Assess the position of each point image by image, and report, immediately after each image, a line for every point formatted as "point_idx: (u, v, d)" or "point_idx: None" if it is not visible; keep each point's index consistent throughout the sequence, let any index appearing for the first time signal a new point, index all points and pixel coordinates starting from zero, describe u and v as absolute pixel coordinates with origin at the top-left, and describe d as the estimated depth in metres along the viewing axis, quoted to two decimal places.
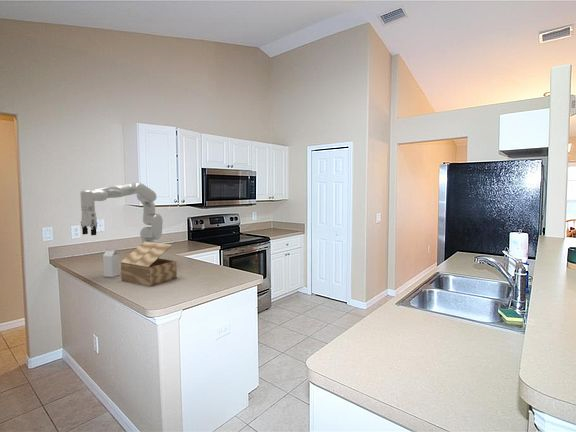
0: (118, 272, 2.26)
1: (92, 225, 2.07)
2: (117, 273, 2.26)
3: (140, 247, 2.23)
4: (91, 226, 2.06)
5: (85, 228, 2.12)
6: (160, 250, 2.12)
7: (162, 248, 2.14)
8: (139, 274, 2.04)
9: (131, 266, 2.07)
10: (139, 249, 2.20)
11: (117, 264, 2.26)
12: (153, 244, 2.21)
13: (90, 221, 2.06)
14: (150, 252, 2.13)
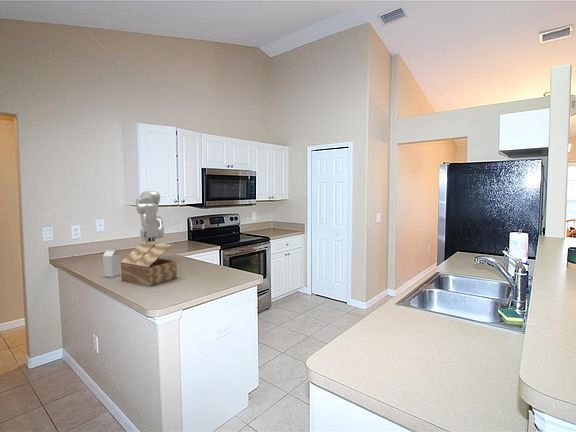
0: (118, 272, 2.26)
1: None
2: (117, 273, 2.26)
3: (139, 246, 2.22)
4: (155, 238, 2.28)
5: None
6: (160, 250, 2.12)
7: (162, 248, 2.14)
8: (139, 274, 2.04)
9: (131, 266, 2.07)
10: (138, 248, 2.20)
11: (117, 264, 2.25)
12: (152, 243, 2.21)
13: None
14: (150, 252, 2.13)
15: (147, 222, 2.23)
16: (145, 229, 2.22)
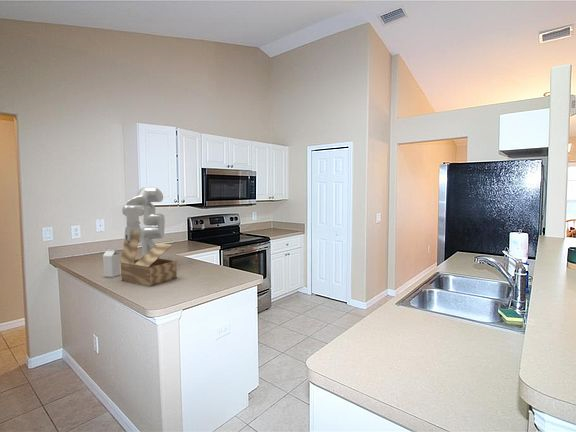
0: (118, 272, 2.26)
1: None
2: (117, 273, 2.26)
3: None
4: None
5: None
6: (160, 250, 2.12)
7: (162, 248, 2.14)
8: (139, 274, 2.04)
9: (131, 266, 2.07)
10: None
11: (117, 264, 2.25)
12: (136, 233, 2.09)
13: None
14: (150, 252, 2.13)
15: (128, 225, 2.10)
16: (126, 232, 2.10)
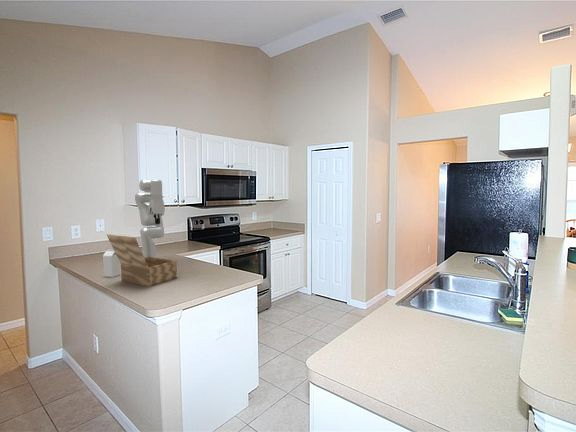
0: (118, 272, 2.26)
1: None
2: (117, 273, 2.26)
3: (112, 243, 2.05)
4: (160, 215, 2.22)
5: None
6: (133, 246, 1.95)
7: (132, 243, 1.94)
8: (139, 274, 2.04)
9: (131, 266, 2.07)
10: (115, 246, 2.05)
11: (117, 264, 2.25)
12: (118, 238, 1.98)
13: None
14: (129, 249, 1.99)
15: (152, 198, 2.17)
16: (150, 205, 2.16)
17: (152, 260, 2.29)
